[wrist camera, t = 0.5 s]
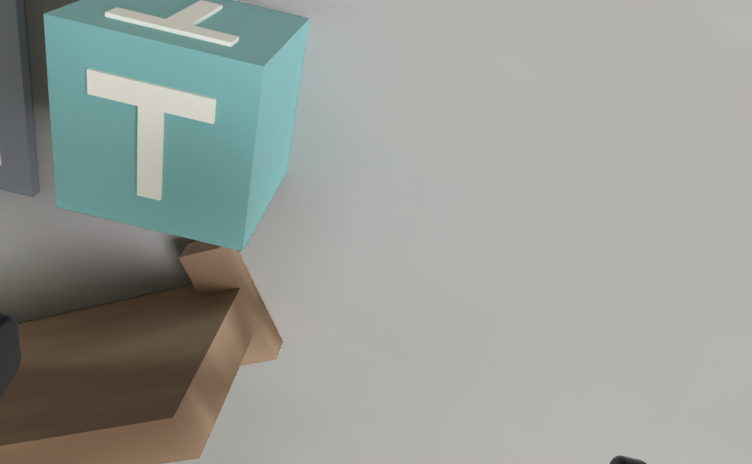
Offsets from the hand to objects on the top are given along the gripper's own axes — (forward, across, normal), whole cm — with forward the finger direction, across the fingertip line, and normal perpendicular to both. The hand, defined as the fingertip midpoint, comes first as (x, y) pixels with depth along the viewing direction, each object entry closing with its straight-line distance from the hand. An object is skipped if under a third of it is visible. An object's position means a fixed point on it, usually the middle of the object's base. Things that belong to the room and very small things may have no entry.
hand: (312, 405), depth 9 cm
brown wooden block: (+12, +10, +11) cm, 19 cm away
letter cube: (+12, +5, 0) cm, 13 cm away
